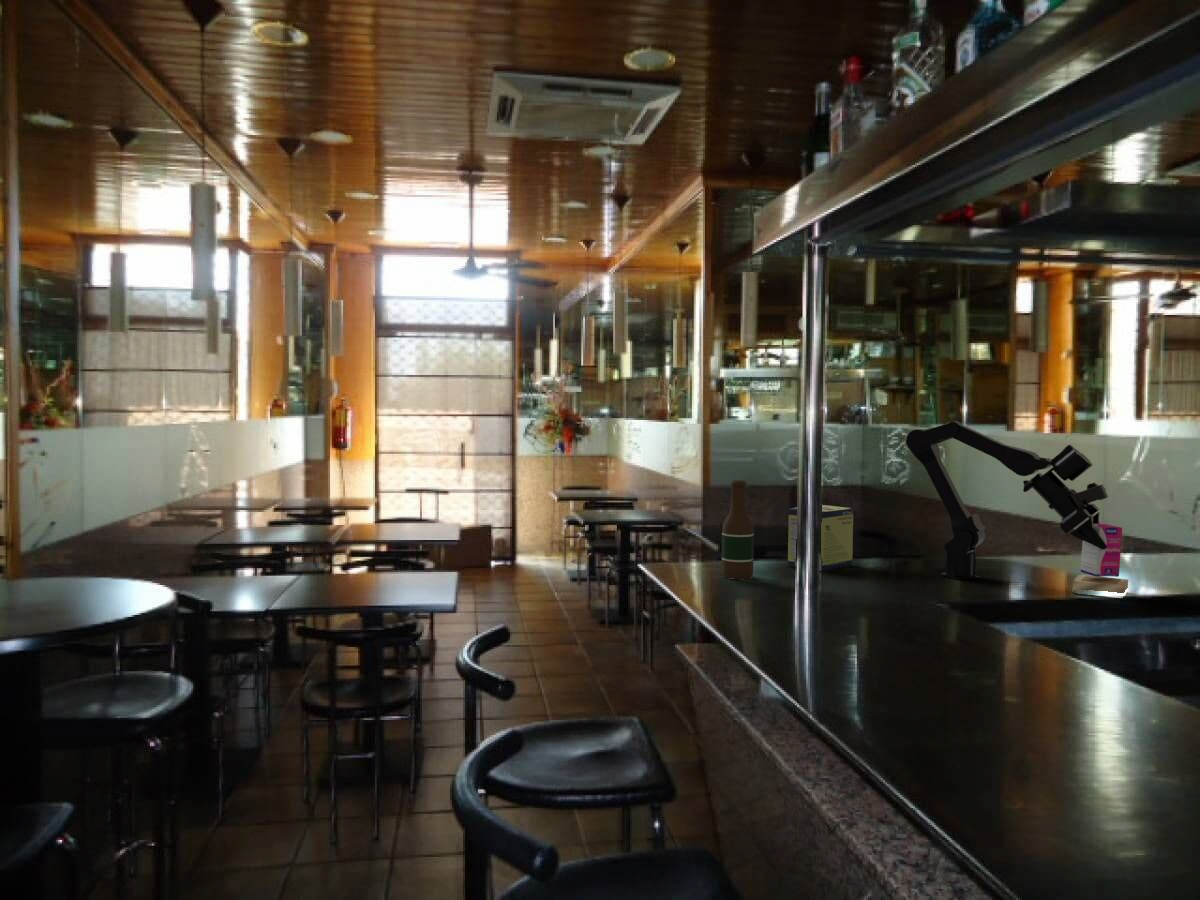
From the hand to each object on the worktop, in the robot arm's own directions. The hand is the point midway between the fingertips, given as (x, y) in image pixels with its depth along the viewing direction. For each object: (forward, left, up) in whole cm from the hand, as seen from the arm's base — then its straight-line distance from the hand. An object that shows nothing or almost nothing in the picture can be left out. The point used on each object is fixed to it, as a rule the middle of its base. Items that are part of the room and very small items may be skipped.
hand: (1107, 546), depth 205 cm
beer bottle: (-73, +41, -11) cm, 84 cm away
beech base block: (-1, +1, -11) cm, 11 cm away
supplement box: (-1, +1, -7) cm, 7 cm away
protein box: (-44, +50, -11) cm, 67 cm away
